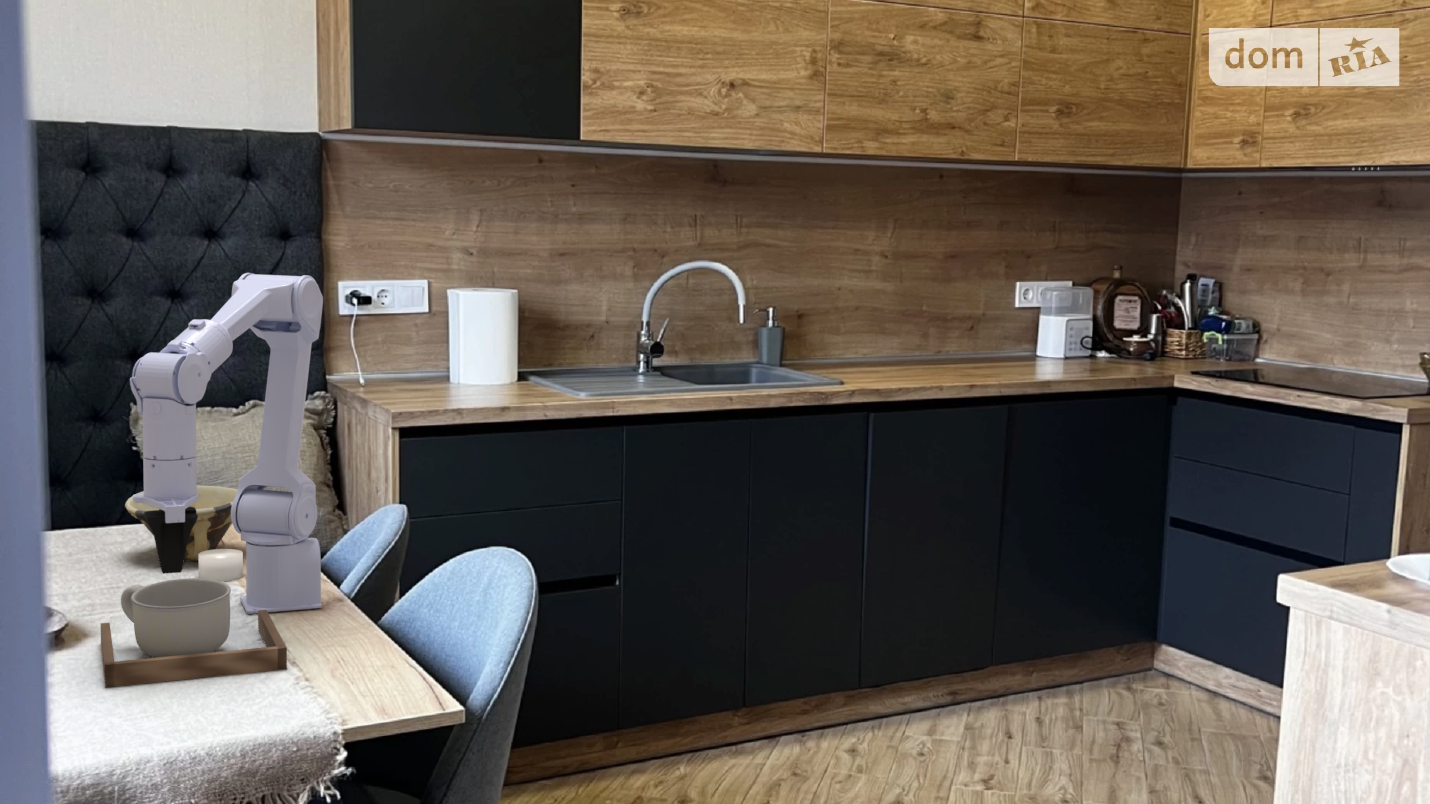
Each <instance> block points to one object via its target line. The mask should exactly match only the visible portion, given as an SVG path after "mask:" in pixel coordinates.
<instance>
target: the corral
mask: <svg viewBox="0 0 1430 804" xmlns="http://www.w3.org/2000/svg"><path fill="white" fill-rule="evenodd" d="M257 620H258V621H257V624H258V625H257V630H258V629H259V630H258V633H259V634H260V636H261V635H262V637H263V639H262V640H264V641H263V643H264V642H265V643H264V645H265V644H266V645H265V647H255V648H244V649H235V650H221V651H215V652H210V653H200V654H189V655H178V656H168V657H157V658H152V657H148V658H139V659H138V658H136V659H129V660H117V661H116V660H115V655H114V649H113V648H114V646H113V638H112V631H111V630H112V629H111V625H110V622H101V623H100V648H101V661H102V668H103V669H102V670H103V679H104V687H105V688H113V687H114V688H115V687H122V686H123V687H124V686H130V685H131V686H133V685H134V686H135V685H142V684H143V685H144V684H151V683H163V682H173V681H182V680H183V681H184V680H193V679H202V678H203V679H204V678H211V677H213V678H214V677H221V676H231V675H232V676H233V675H242V674H252V673H262V672H270V671H281V670H283V671H284V670H287V669H288V662H287V660H288V656H287V655H288V652H287V651H288V647H287V646H286V644H285V641H284V639H283V638H282V636H281V634H280V633H279V631H278V630H279V629H277V627H276V625H275V623H274V621H273V619H272V617H271V615H270V614H269V612H267V610H258V613H257ZM262 637H261V638H262Z"/></svg>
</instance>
